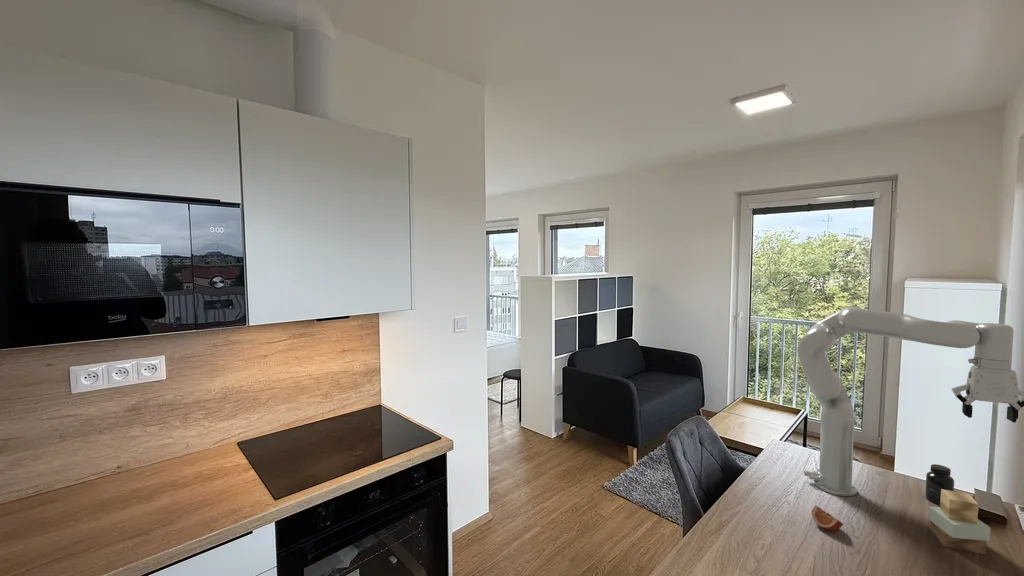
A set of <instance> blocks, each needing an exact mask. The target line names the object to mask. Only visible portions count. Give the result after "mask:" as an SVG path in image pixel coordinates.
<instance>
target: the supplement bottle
mask: <svg viewBox="0 0 1024 576" xmlns="http://www.w3.org/2000/svg"><path fill="white" fill-rule="evenodd" d="M951 472H952V471H951V468H949V467H947V466H945V465H940V464H937V463H936V464H934V463H933V464H931V465H930V471H928V472H927V473H926V474H925V476H926V479H925V496H924V497H925V498H926V500H928V501H930V502H931V503H933V504H937V505H939V506H940V499H941V489H944V490H950V491H955V479H954V478H953V477H952V476H951V474H952V473H951Z"/></svg>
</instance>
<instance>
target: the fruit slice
mask: <svg viewBox="0 0 1024 576" xmlns="http://www.w3.org/2000/svg"><path fill="white" fill-rule="evenodd" d="M811 515H812V519H813V520H814V522H815V524H816V525H818V527H820V528H821V529H823V530H825V531H831V532H833V531H837V530H839V529H840V528H842V527H843V525H844V524H843V522H841V521H840V520H838V519H837V518H836V517H835V516H833V515H831V514H830V513H829V512H827V511H825V510H823V509H822V507H820V506H817V505H815V506H814V507H813V509H812V510H811Z"/></svg>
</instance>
